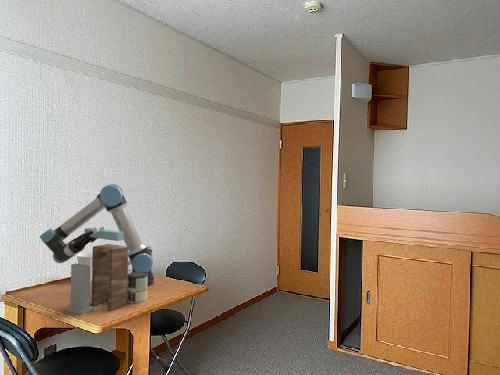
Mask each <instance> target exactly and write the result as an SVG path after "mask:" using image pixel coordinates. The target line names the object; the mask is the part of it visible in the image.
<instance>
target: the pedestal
mask: <svg viewBox="0 0 500 375" xmlns="http://www.w3.org/2000/svg"><path fill="white" fill-rule="evenodd" d="M90 300H91V281H90V266H87V265H82V264H78V262H76V263H72V264H70V300H69V302H70V305H67V306H65V308H64V309H65V311H67V312H70V313H71V312H72V313H75V314H77V313H78V315H81V314H83V315H85V313H86V314H88V313H91V312H94V311H95V306H91V305H90V304H91V303H90Z"/></svg>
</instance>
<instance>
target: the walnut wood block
mask: <svg viewBox="0 0 500 375" xmlns="http://www.w3.org/2000/svg"><path fill="white" fill-rule="evenodd" d="M128 251H129V250H128V247H127V246H126V245H125V246H124V245H119V244H112V243H105V244H100V245H95V246H92V253H93V255H92V281H91V298H90V300H91V303H90V304H91V305H90V306H91V307H97V306H100V305H102V304H105V303H107V306H108V307H107V308H108V309H107V310H108V312H112V311H115V310H117V309H121V308H123V307H126V306H127V305H128V303H127V302H128V301H127V299H128V292H127V276H128V274H127V270H128Z"/></svg>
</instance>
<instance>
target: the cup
mask: <svg viewBox="0 0 500 375" xmlns="http://www.w3.org/2000/svg"><path fill="white" fill-rule="evenodd" d="M92 255H93V252H82V253H77V254H76V257H77V264H82V265H87V266H90V282H92Z"/></svg>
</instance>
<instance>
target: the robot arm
mask: <svg viewBox="0 0 500 375" xmlns="http://www.w3.org/2000/svg"><path fill="white" fill-rule="evenodd" d="M99 192H100V193H99V194H97V195H96V198H95V199H94V200H92V201H91V202H89V203H88V204H87V205H86V206H85V207H83V208H82V209H80V210H79V211H78V212H76V213H75V214H74V215H72V216H71V217H70V218H68V219H66V221H64V222H63V223H62V224H60V226H58V227H57V228H55V229H53V228H49V229H47V230H46V231H44V232H43V233H41V234H40V236H39V239H40V240H41V242H42V243H44V244H45V245H46V247H47V248H48V249H49V250H50V251H51V253H53V254H52V258H53V261H54V262H55V263H56V264H63V263H65V262H67V261H69V260H71V258H73V257H75V256H77V255H78V254H80V252H82V251H84V249H85V248H86V246H87V245H88V244H89V243H94V242H95V241H97V240H98V239H99V238H93V237H92V236H93V235H95V234H96V233H97V232H99V230H98V229H104V230H107V228H106V225H102V226H101V227H100V228H98V226H95V227H93V228H94V229H92V230H91V231H89V232H88V233H85V234H84V233H81V234H80V235H79V236H78V237H74V238H73V239H72V240H70V241H68V242H67V243H65V242H64V241H65V239H66V238H68V237H69V236H70V235H71V234H73V233H74V232H75V231H77V230H78V229H79V228H81V227H82V226H83V225H85V224H86V223H88V222H89V221H90V220H91V219H93V218H94V217H96V216H97V215H98V214H99V213H100V212H102V211H103V210H106V212H108V213H110V214H111V216H112V218H113V220H114V223H115V224H116V227H117V228H118V229H117V230H118V231H120V232H124V240H123V242H124V244H125V246H126V247H128V257H129V259H130V261H131V263H132V272H146V273H148V283H147V287H149V286H151V285H153V284H155V277H154V274H153V271H152V267H153V265H154V259H153V247H152V245H146V244H143V241H142V239H141V237H140V235H139V233H138V230H137V229H136V228H137V227H136V225H135V224H134V221H133V219H132V218H131V215H130V212H129V210H128V209H127V204H128V202H127V200H126V197H125V194H124V192H123V189H122V188H121V187H120V186H119V185H117V184H115V183H114V184H112V183H111V184H107V185H105V186H103V187H102V188H101V190H100V191H99ZM89 236H90V237H89ZM132 272H131V273H132Z"/></svg>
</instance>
